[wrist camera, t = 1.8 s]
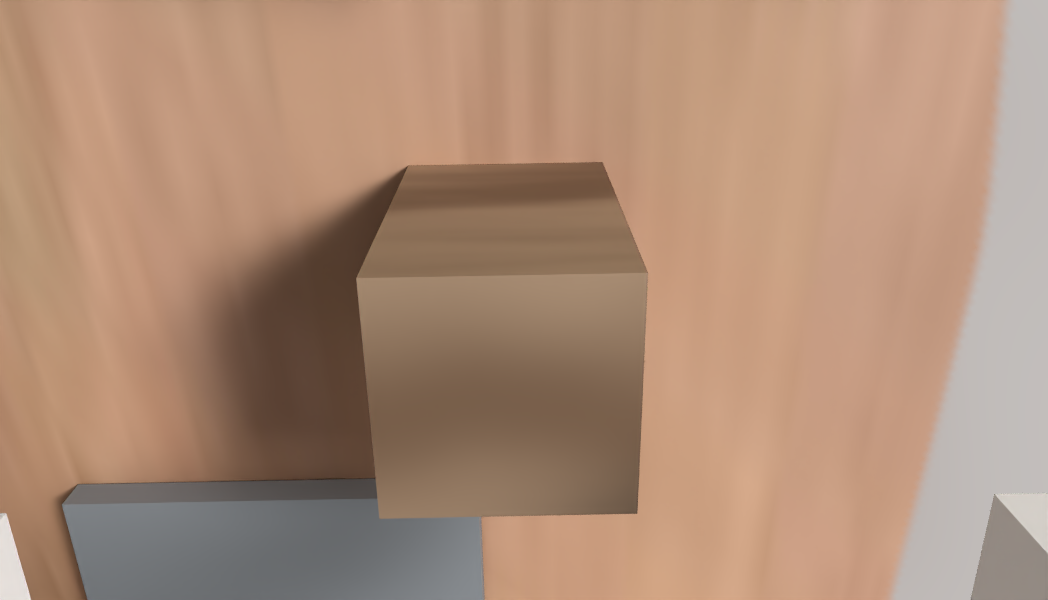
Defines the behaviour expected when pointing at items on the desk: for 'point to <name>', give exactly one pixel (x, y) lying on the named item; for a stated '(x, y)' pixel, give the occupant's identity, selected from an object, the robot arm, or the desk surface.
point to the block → (504, 344)
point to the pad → (266, 543)
